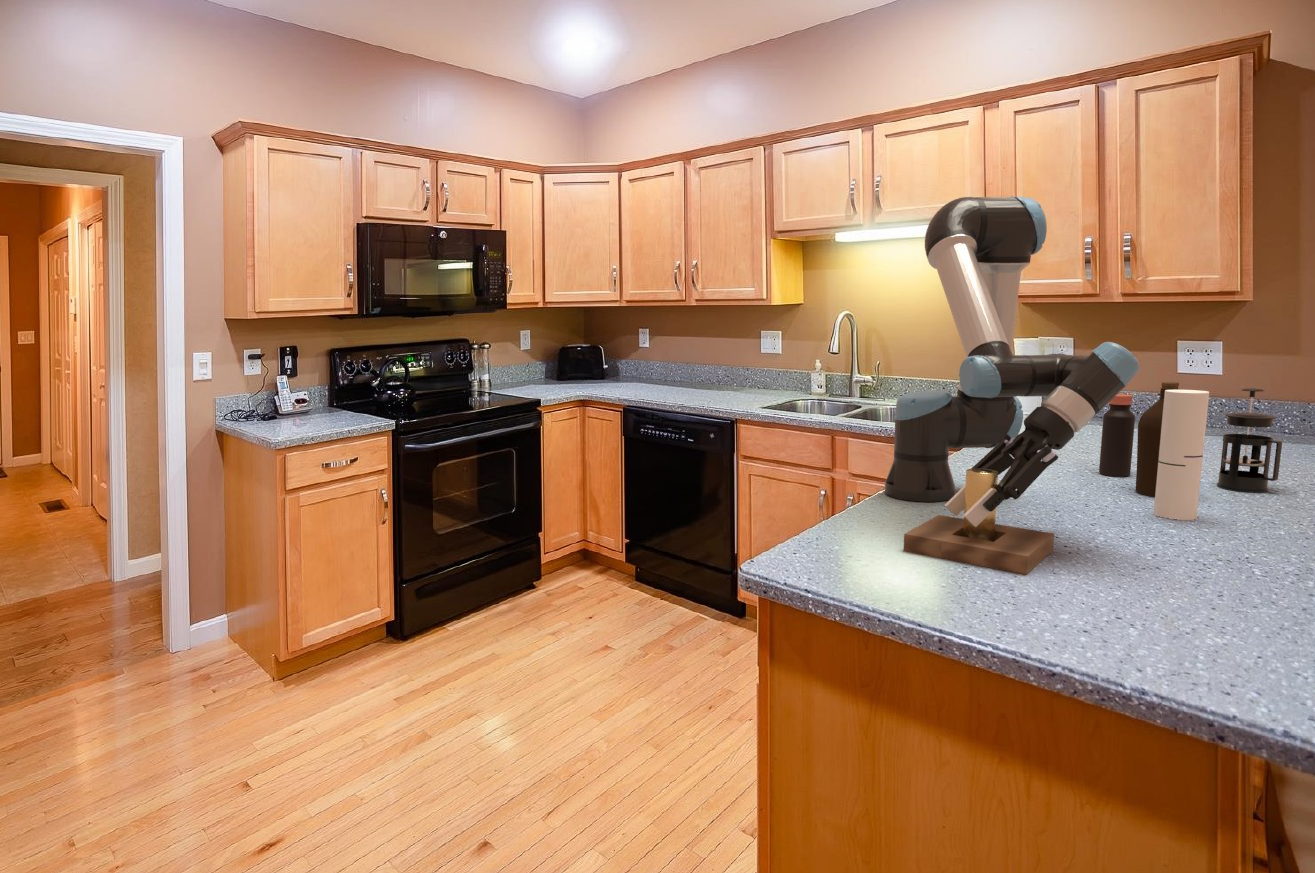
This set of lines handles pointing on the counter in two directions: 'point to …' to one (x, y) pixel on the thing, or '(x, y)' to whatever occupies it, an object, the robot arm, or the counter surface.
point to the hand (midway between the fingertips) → (959, 515)
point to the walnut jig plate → (980, 545)
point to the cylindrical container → (1181, 454)
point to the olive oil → (1150, 444)
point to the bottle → (1117, 438)
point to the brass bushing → (974, 490)
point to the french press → (1246, 479)
